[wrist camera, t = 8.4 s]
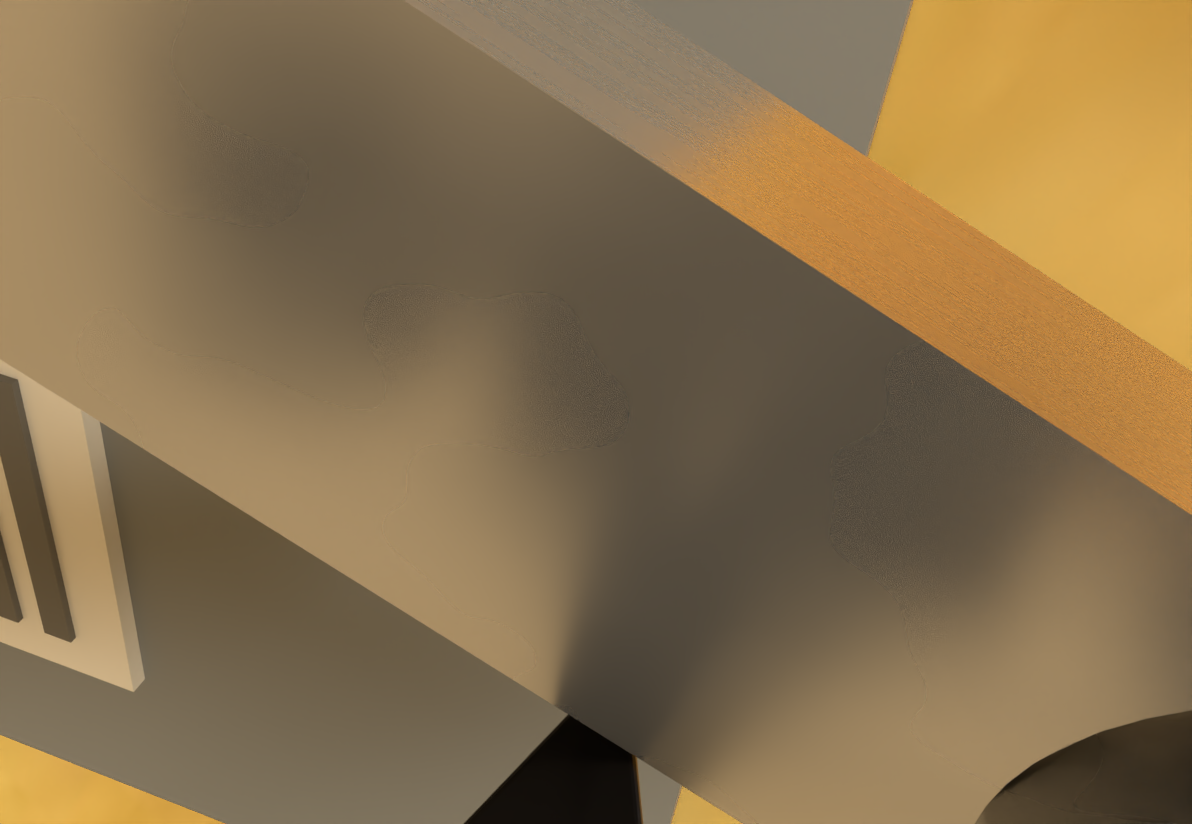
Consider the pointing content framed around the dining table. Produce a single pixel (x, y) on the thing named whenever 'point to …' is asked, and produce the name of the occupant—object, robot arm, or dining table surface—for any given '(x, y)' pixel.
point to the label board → (304, 572)
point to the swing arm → (620, 391)
